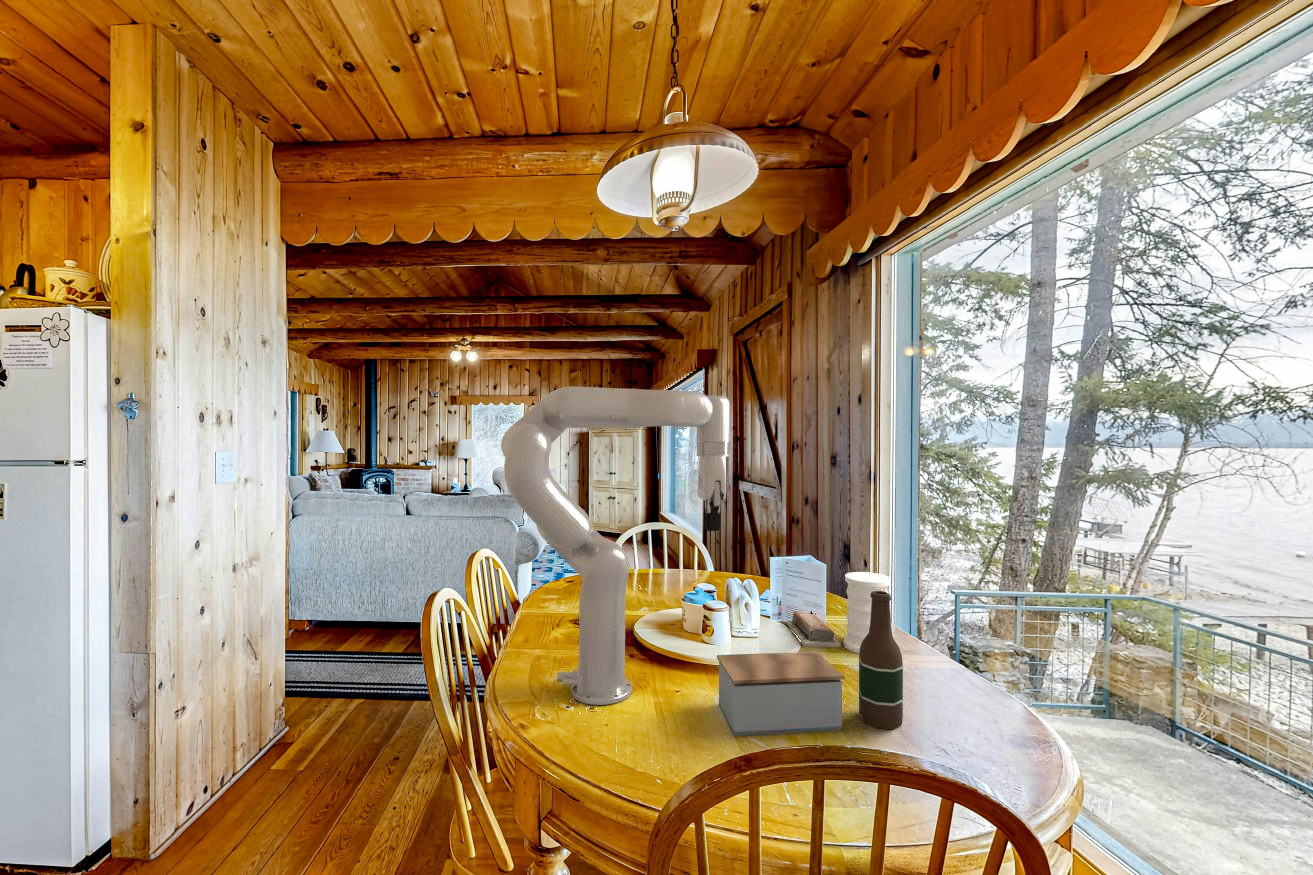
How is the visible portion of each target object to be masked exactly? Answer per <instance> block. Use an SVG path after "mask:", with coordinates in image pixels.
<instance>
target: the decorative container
mask: <svg viewBox="0 0 1313 875" xmlns="http://www.w3.org/2000/svg"><path fill="white" fill-rule="evenodd" d="M844 575H845V578H844V580H845V582H846V583H847V588H846V595H847V600H846V607H847V612H846V615H845V616H846V619H847V624H846V626H845V627H846V632H847V636H845V637H844V638H843V647H844V648H845V649H847V650H848V651H850V652H852V653H855V654H859V652H860V646H861V644H862V641H863V640H864V638H865V637H866V636H867V634H868V633H869V628H870V618H871V603H872V598H871V597H870V595H871V592H874V591H884V592H887V593H889V591H888V587H889V586H891V578H890V577H889V576H888V575H884V574H881V573H875V572H865V571H855V572H854V571H852V572H847V573H846V574H844Z"/></svg>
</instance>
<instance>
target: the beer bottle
mask: <svg viewBox="0 0 1313 875" xmlns="http://www.w3.org/2000/svg"><path fill="white" fill-rule="evenodd" d="M870 597H871V598H872V603H871V618H870V628H869V633H868V634H867V636H866V637H865V638H864V640H863V641H862V644H861V646H860V652H859V655H858V708H859V715H860V717H861V720H862V722H863V723H864V724H866V725H868V726H870V727H872V728H875V729H880V730H890V731H893V730H895V729H897V728H899V727H900V726H901V727H902V724H903V719H904V718H903V716H904V713H903V712H904V710H903V709H904V704H903V703H904V686H903V685H904V666H903V665H904V664H903V654H902V652H901V649H900V646H899V644H897V642H896V640H895V639H894V636H893V632H892V620H891V619H892V617H891V604H890V603H891V601H892V596H891V594H890V593H889V592H888V593H887V592H884V591H874V592H871V595H870Z"/></svg>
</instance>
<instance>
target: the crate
mask: <svg viewBox="0 0 1313 875" xmlns="http://www.w3.org/2000/svg"><path fill="white" fill-rule="evenodd" d="M718 706H719V708H720V710H721V713H722V715H723V717H724V719H725V721H726V724H727V725H728V728H729V729H730V732H731V733H732V735H733V737H735V738H737V737H752V736H771V735H786V734H787V735H789V734H808V733H824V732H826V733H827V732H842V731H843V681H842V680H818V681H795V682H772V683H749V684H733V683H732V681H731V680H730V678H729V677H728V675H727V673H726V672H725V670H724V669H723V667H722V665H721V664H720V662H719V661H718Z"/></svg>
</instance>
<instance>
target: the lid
mask: <svg viewBox="0 0 1313 875" xmlns="http://www.w3.org/2000/svg"><path fill="white" fill-rule="evenodd" d="M716 658H717V661H718V663H719V662H720V664H721V665H722V667H723V669H724V670H725V672H726V673H727V675H728V677H729V678H730V680H731V681H732V683H733V684H749V683H772V682H795V681H818V680H840V681H842V680H845V679H846V678H845V675H844V674H843V673H841V671H840V670H838V669H837V668H836V667H835V666H834V665H832V664H831V663H830V662H829V661H828V660H827V659H826V658H824V657H823V656H822V655H821V654H820V653H819V652H818V651H798V652H797V651H793V652H792V651H789V652H788V651H787V652H766V653H765V652H763V653H762V652H761V653H744V654H743V653H739V654H717V655H716Z"/></svg>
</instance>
